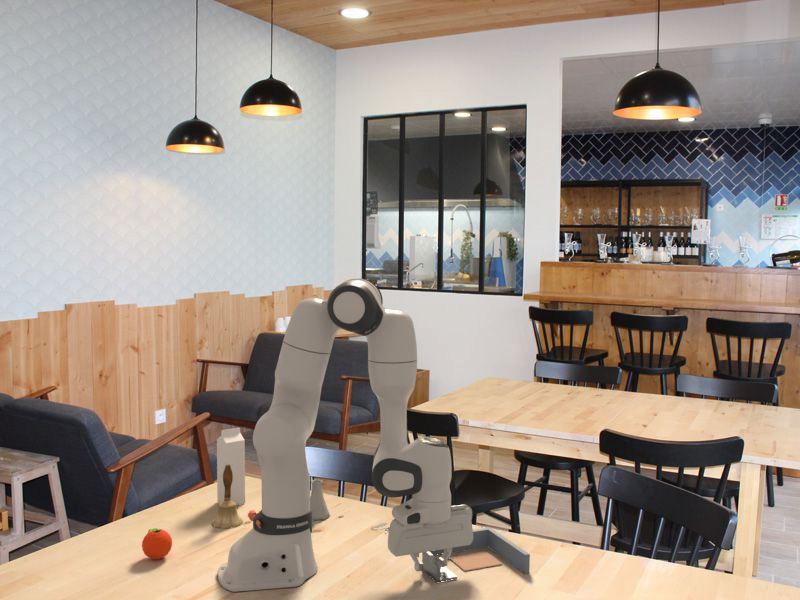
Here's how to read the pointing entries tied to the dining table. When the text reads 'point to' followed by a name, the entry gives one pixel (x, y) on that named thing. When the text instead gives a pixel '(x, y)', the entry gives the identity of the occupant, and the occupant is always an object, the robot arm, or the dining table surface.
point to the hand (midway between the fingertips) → (430, 568)
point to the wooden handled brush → (227, 505)
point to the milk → (231, 464)
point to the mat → (475, 561)
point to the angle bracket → (436, 568)
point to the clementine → (157, 543)
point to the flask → (318, 501)
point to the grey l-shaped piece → (496, 548)
